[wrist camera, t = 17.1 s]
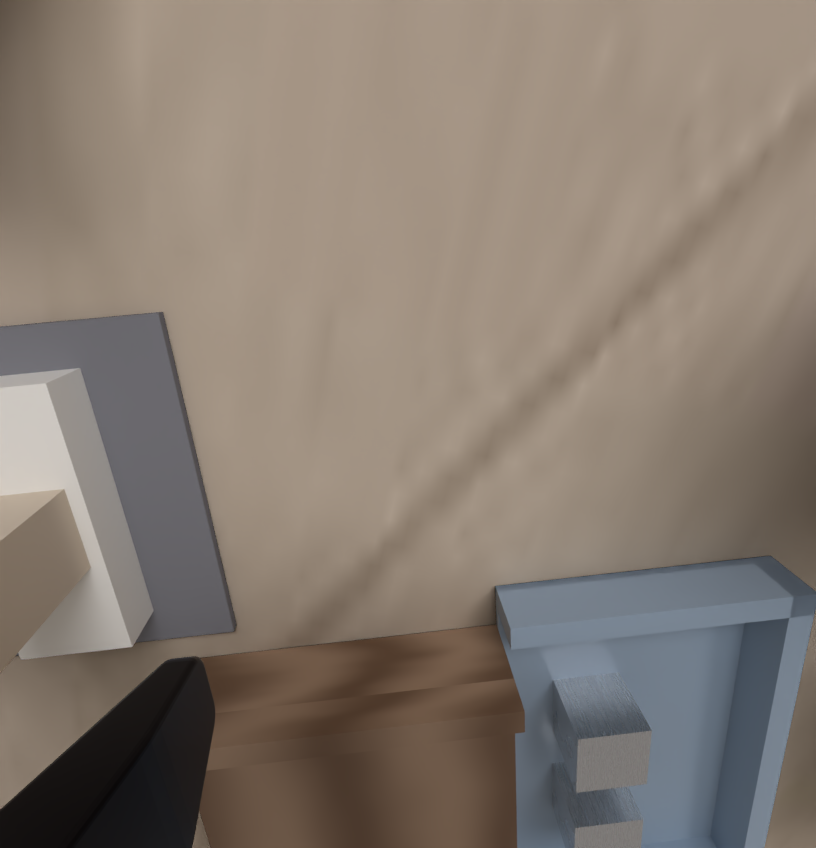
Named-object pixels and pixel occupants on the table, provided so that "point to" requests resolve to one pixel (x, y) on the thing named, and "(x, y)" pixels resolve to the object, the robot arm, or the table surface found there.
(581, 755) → the chip
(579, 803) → the grey square block
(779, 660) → the chip tray
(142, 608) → the plate with square knob
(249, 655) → the groove block
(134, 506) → the mat
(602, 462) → the table surface
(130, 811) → the robot arm
